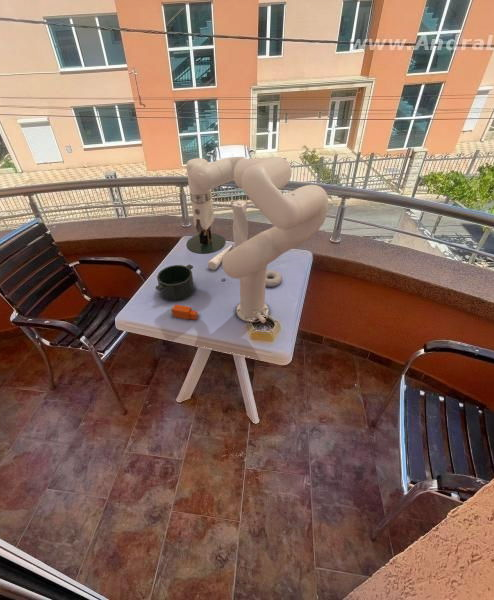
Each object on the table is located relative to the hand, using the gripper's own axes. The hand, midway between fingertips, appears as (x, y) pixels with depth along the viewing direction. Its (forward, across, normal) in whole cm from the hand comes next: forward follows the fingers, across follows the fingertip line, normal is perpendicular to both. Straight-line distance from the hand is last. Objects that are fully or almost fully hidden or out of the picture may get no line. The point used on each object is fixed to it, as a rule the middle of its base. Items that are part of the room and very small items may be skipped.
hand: (205, 240), depth 126 cm
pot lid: (+1, 0, 0) cm, 1 cm away
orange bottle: (+23, -20, +5) cm, 31 cm away
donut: (+23, +10, -24) cm, 35 cm away
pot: (+23, -6, +14) cm, 27 cm away
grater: (+10, +43, +1) cm, 44 cm away
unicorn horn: (+23, +23, +2) cm, 33 cm away
